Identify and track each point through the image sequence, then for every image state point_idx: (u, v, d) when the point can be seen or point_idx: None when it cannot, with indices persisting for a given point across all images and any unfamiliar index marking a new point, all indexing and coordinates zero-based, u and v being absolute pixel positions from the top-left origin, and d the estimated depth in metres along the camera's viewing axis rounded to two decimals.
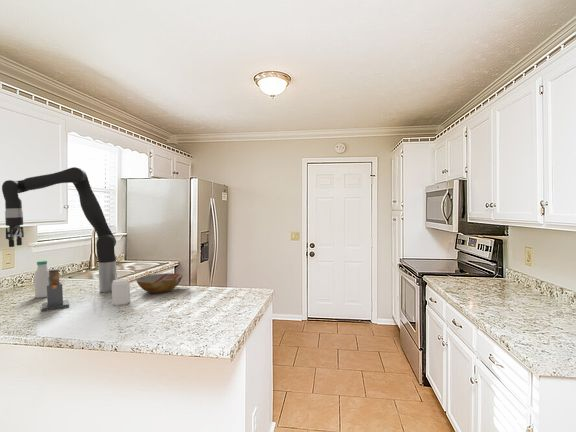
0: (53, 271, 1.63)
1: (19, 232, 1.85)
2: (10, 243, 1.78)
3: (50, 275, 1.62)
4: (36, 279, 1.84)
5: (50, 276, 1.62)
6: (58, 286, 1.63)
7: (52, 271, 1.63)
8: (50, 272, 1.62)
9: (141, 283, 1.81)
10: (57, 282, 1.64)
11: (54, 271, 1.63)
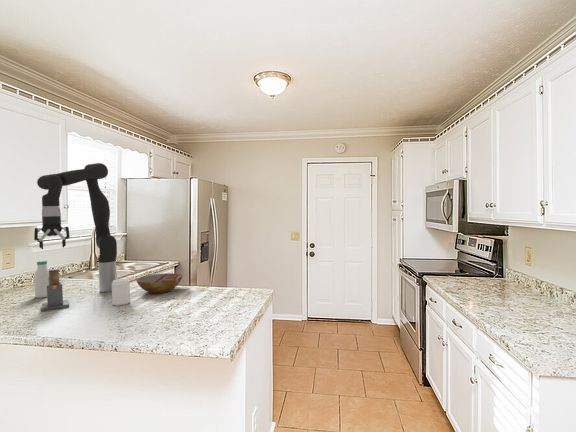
0: (53, 271, 1.63)
1: None
2: (65, 243, 1.67)
3: (50, 275, 1.62)
4: (36, 279, 1.84)
5: (50, 276, 1.62)
6: (58, 286, 1.63)
7: (52, 271, 1.63)
8: (50, 272, 1.62)
9: (141, 283, 1.81)
10: (57, 282, 1.64)
11: (54, 271, 1.63)
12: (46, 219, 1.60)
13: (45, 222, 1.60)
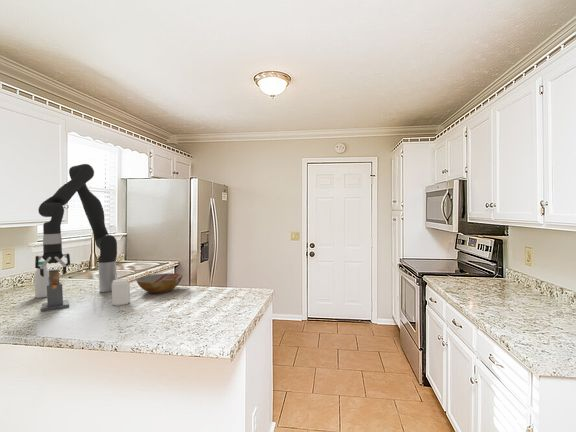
0: (53, 271, 1.63)
1: None
2: None
3: (50, 275, 1.62)
4: (36, 279, 1.84)
5: (50, 276, 1.62)
6: (58, 286, 1.63)
7: (52, 271, 1.63)
8: (50, 272, 1.62)
9: (141, 283, 1.81)
10: (57, 282, 1.64)
11: (54, 271, 1.63)
12: (47, 247, 1.61)
13: (46, 250, 1.61)
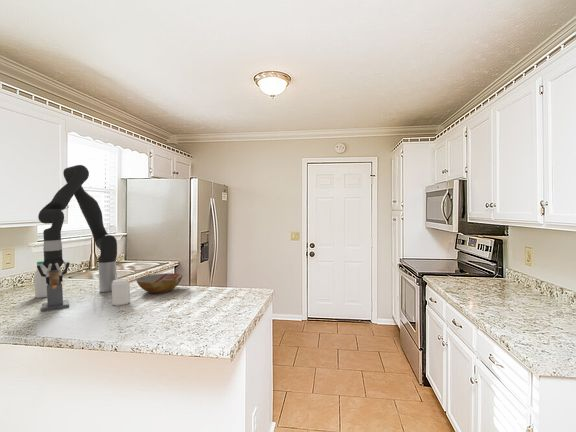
0: (53, 271, 1.63)
1: None
2: None
3: (50, 275, 1.62)
4: (36, 279, 1.84)
5: (50, 276, 1.62)
6: (58, 286, 1.63)
7: (52, 271, 1.63)
8: (50, 272, 1.62)
9: (141, 283, 1.81)
10: (57, 282, 1.64)
11: (54, 271, 1.63)
12: (48, 253, 1.61)
13: (47, 257, 1.61)
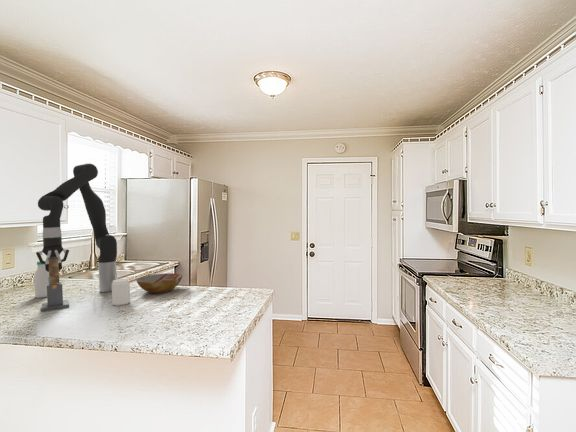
0: (52, 258, 1.63)
1: None
2: (61, 266, 1.66)
3: (49, 262, 1.62)
4: (36, 279, 1.84)
5: (49, 263, 1.62)
6: (58, 286, 1.63)
7: (51, 258, 1.62)
8: (49, 259, 1.62)
9: (141, 283, 1.81)
10: (56, 269, 1.64)
11: (53, 258, 1.63)
12: (47, 240, 1.60)
13: (46, 243, 1.61)
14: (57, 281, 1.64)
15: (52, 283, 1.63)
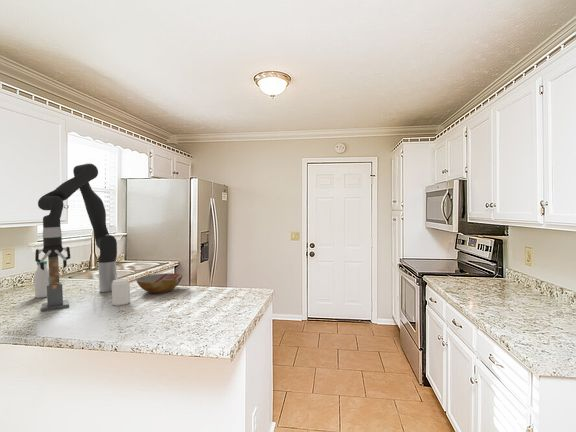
0: (52, 258, 1.63)
1: None
2: None
3: (49, 262, 1.62)
4: (36, 279, 1.84)
5: (49, 263, 1.62)
6: (58, 286, 1.63)
7: (51, 258, 1.62)
8: (49, 259, 1.62)
9: (141, 283, 1.81)
10: (56, 269, 1.64)
11: (53, 258, 1.63)
12: (47, 240, 1.60)
13: (46, 243, 1.61)
14: (57, 281, 1.64)
15: (52, 283, 1.63)
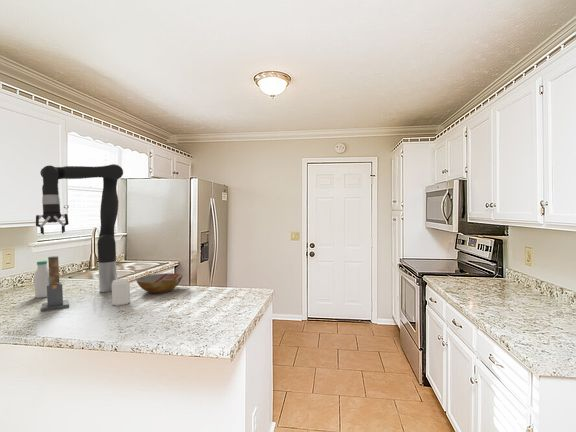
0: (52, 258, 1.63)
1: None
2: (64, 229, 1.80)
3: (49, 262, 1.62)
4: (36, 279, 1.84)
5: (49, 263, 1.62)
6: (58, 286, 1.63)
7: (51, 258, 1.62)
8: (49, 259, 1.62)
9: (141, 283, 1.81)
10: (56, 269, 1.64)
11: (53, 258, 1.63)
12: (46, 206, 1.73)
13: (46, 209, 1.73)
14: (57, 281, 1.64)
15: (52, 283, 1.63)
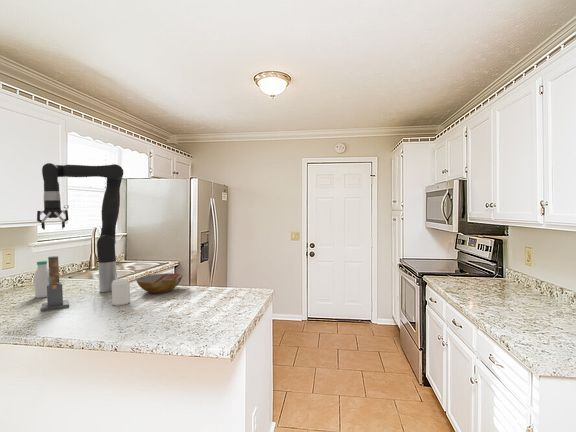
0: (52, 258, 1.63)
1: None
2: (64, 225, 1.87)
3: (49, 262, 1.62)
4: (36, 279, 1.84)
5: (49, 263, 1.62)
6: (58, 286, 1.63)
7: (51, 258, 1.62)
8: (49, 259, 1.62)
9: (141, 283, 1.81)
10: (56, 269, 1.64)
11: (53, 258, 1.63)
12: (47, 202, 1.80)
13: (46, 205, 1.80)
14: (57, 281, 1.64)
15: (52, 283, 1.63)
